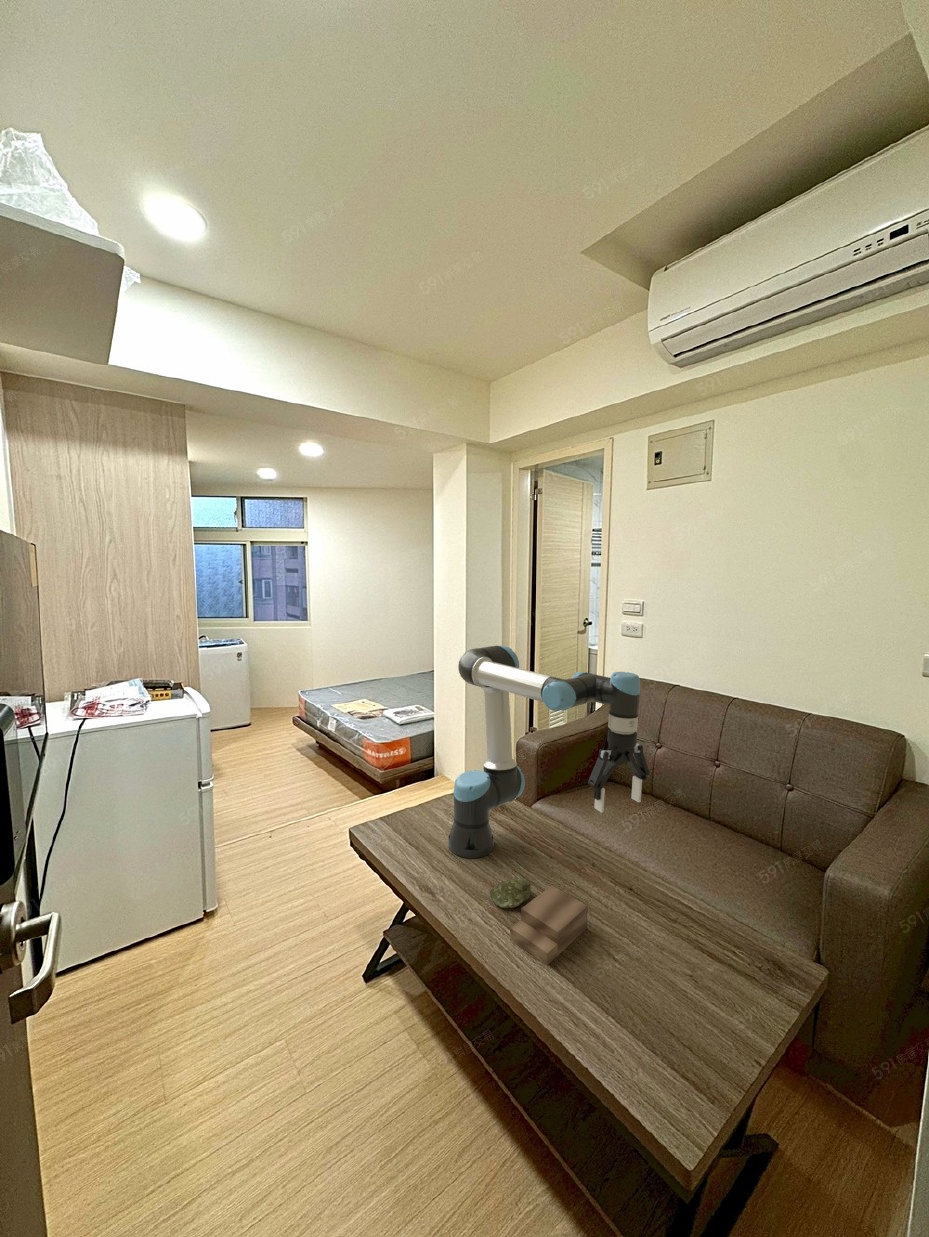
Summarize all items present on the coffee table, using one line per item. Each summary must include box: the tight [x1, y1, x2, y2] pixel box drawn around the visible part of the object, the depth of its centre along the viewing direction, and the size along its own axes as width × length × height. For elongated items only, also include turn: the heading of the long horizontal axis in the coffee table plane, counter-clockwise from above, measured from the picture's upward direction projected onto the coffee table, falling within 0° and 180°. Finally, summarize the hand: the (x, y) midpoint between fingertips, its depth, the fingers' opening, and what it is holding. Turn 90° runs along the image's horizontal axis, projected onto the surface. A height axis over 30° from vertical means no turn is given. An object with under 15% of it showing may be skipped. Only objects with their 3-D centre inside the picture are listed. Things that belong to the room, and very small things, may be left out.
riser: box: [509, 885, 589, 966], centre depth 119 cm, size 11×17×6 cm, turn 134°
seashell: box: [489, 878, 533, 909], centre depth 133 cm, size 10×7×10 cm
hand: (617, 805), depth 131 cm, fingers open, 13 cm apart
